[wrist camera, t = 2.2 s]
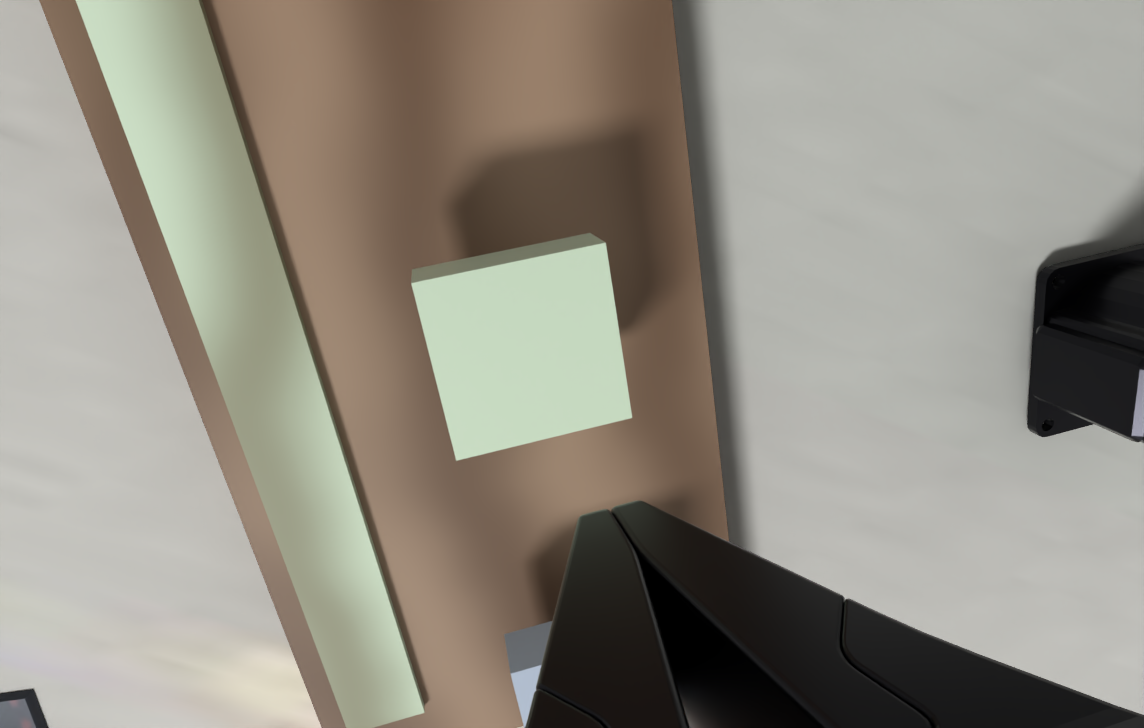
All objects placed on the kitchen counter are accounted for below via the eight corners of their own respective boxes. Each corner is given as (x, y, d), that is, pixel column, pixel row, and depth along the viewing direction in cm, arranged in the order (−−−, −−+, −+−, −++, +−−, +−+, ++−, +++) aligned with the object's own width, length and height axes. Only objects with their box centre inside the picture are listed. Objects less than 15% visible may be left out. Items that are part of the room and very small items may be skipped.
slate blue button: (647, 594, 21) (664, 629, 20) (664, 705, 23) (681, 745, 21) (503, 634, 21) (510, 673, 19) (531, 745, 22) (539, 789, 21)
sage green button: (589, 232, 17) (605, 242, 16) (615, 394, 19) (632, 417, 17) (411, 269, 17) (411, 283, 15) (453, 433, 18) (456, 460, 17)
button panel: (611, -297, 17) (638, -358, 15) (719, 623, 27) (745, 666, 25) (-11, -233, 15) (-81, -292, 13) (347, 731, 25) (341, 787, 23)
